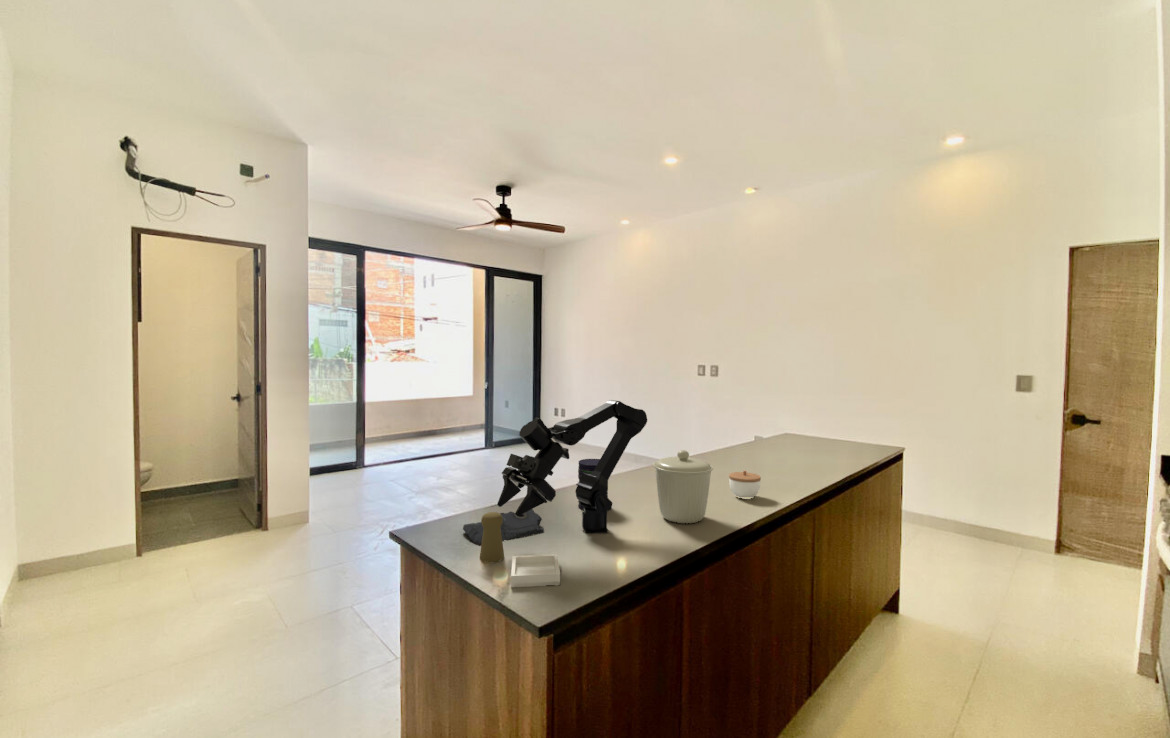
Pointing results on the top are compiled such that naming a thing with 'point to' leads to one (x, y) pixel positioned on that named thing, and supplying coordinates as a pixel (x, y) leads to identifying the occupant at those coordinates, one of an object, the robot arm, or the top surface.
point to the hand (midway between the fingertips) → (507, 510)
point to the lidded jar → (744, 484)
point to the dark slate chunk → (508, 526)
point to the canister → (683, 487)
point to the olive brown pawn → (492, 538)
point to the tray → (535, 570)
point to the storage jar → (587, 470)
